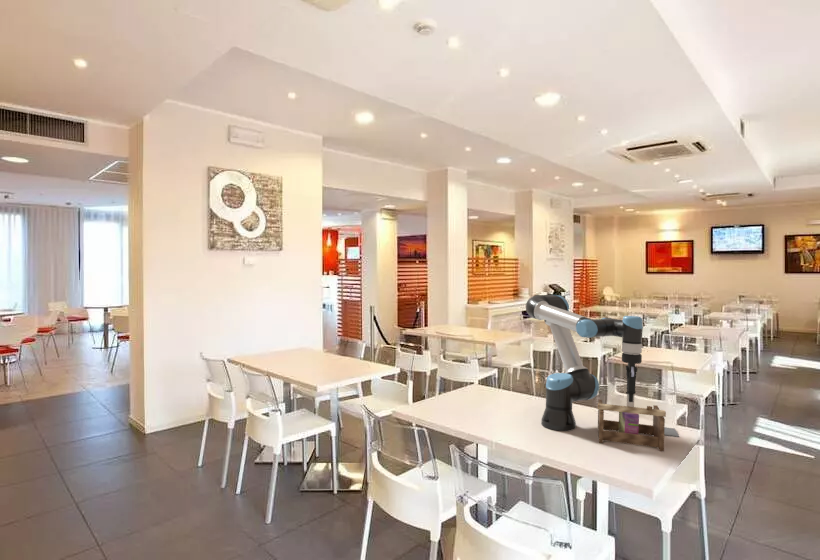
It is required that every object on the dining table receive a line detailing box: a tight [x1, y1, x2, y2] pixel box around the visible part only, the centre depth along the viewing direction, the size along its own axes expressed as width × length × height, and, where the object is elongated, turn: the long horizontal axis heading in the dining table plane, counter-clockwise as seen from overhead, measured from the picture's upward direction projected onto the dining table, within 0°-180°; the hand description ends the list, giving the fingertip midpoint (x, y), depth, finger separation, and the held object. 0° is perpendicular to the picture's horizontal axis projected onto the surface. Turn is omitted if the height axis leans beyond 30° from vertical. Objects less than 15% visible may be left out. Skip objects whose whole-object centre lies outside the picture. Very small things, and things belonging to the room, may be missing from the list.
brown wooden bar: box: [597, 402, 667, 418], centre depth 195 cm, size 26×3×3 cm, turn 70°
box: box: [617, 412, 640, 434], centre depth 203 cm, size 10×6×12 cm, turn 168°
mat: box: [664, 426, 680, 438], centre depth 211 cm, size 10×11×1 cm
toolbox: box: [597, 399, 666, 452], centre depth 201 cm, size 24×20×13 cm
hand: (630, 408), depth 197 cm, fingers closed
